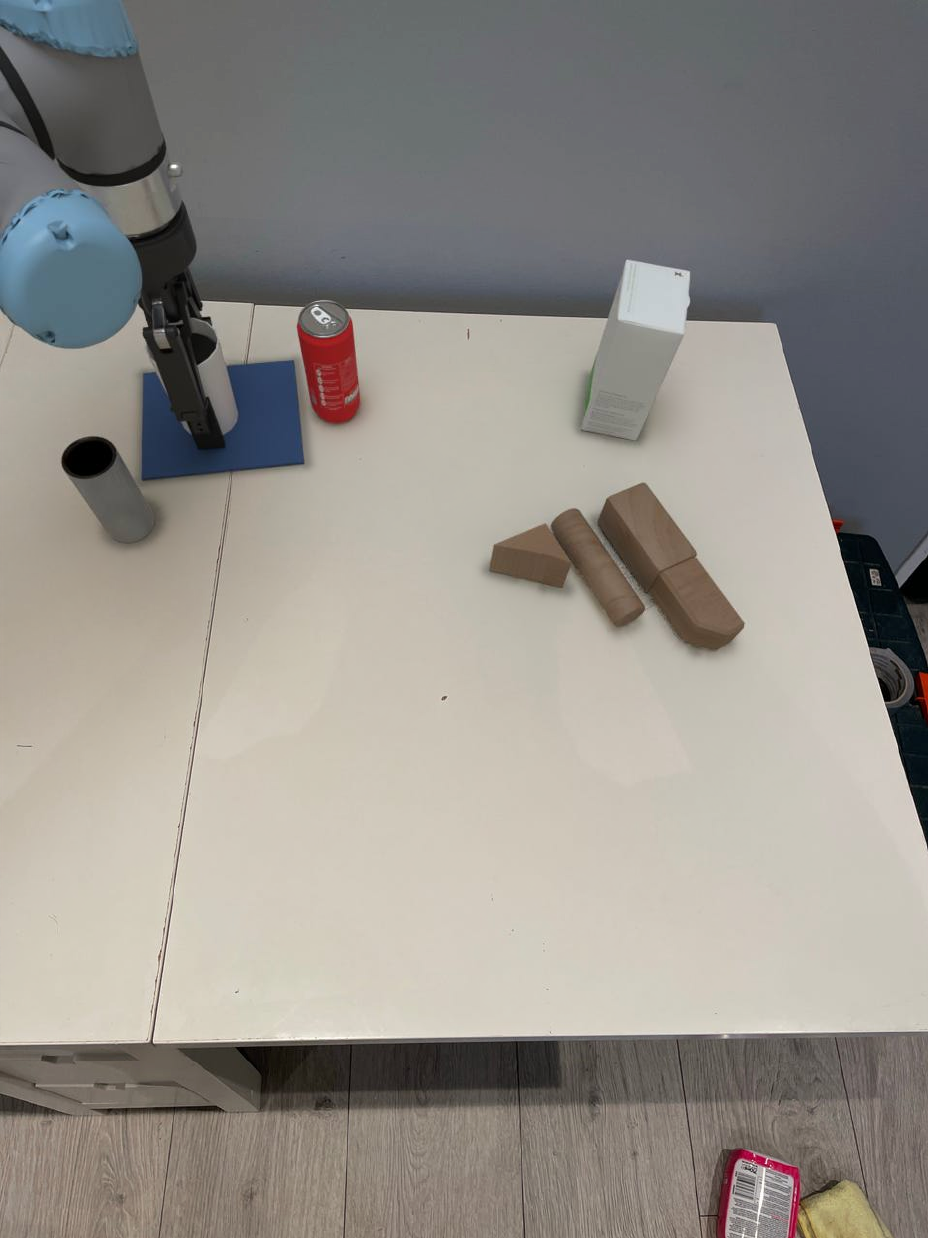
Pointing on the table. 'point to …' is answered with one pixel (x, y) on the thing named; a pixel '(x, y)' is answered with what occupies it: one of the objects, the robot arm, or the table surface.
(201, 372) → the white cup
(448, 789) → the table surface
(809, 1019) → the table surface
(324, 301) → the beverage can
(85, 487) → the gray tube
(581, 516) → the wooden block set
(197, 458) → the cloth mat
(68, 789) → the table surface
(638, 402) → the cosmetic box
